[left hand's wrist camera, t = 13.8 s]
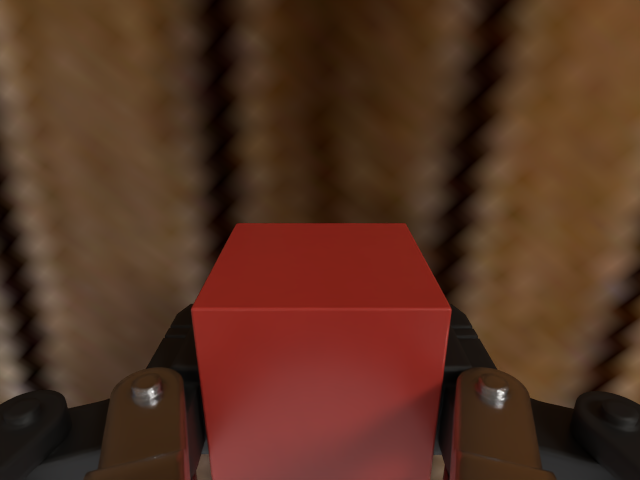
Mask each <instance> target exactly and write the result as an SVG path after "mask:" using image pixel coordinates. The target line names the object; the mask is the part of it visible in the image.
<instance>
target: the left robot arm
mask: <svg viewBox="0 0 640 480" xmlns="http://www.w3.org/2000/svg"><path fill="white" fill-rule="evenodd" d="M449 305H450V307H451V309H452V311H451V319H450V327H449V335H448V343H447V351H446V359H445V366H444V374H443V382H442V390H441V398H440V406H439V414H438V422H437V429H436V437H435V445H434V453H433V455H442V456H443V460H444V463H445V468H444V475H443V480H640V405H639V404H637V403H636V402H634V401H632V400H629V399H627V398H625V397H622V396H620V395H616V394H613V393H608V392H601V391H592V392H586V393H583V394H582V395H580V396H579V397H578V398H577V400H576V403H575V407H574V409H572V408H567V407H563V406H558V405H554V404H549V403H545V402H541V401H537V400H535V399H532V398H530V396H529V393H528V391H527V389H526V388H525V386H524V385H523V384H522V383H521V382H520V381H518V380H517V379H516V378H514V377H513V376H511V375H509V374H507V373H505V372H502V371H499V370H497V368H496V366H495V365H494V363H493V361H492V360H491V358H490V356H489V354H488V353H487V351H486V349H485V348H484V346H483V344H482V342H481V341H480V339H478V336H477V334H476V332H475V330H474V329H472V325H471V324H470V322H469V320H468V318H467V317H466V315H465V314H464V313H463V312H461V311H460V310H459V309H457V308H456V307H455V306H453V305H452V304H449ZM192 306H193V304H190V305H189V306H188V307H186V308H185V309H184V310H182V311H181V312H180V313H178V314H177V316H176V317H175V319H174V321H173V323H172V324H171V328H169V330H168V331H167V333H166V335H165V338H163V340H162V342H161V343H160V345H159V347H158V349H157V350H156V352H155V354H154V356H153V357H152V359H151V361H150V363H149V364H148V366H147V368H146V369H144V370H141V371H138V372H135V373H133V374H131V375H129V376H127V377H126V378H124V379H123V380H122V381H120V382H119V383H118V384H117V385H116V386H115V388H114V389H113V391H112V393H111V396H110V399H107V400H104V401H100V402H96V403H91V404H87V405H82V406H78V407H73V408H69V409H68V407H67V403H66V400H65V397H64V396H63V395H62V394H60V393H59V392H56V391H52V390H38V391H32V392H28V393H25V394H21V395H19V396H16V397H14V398H12V399H9V400H7V401H6V402H4V403H2V404H1V405H0V480H197V475H196V469H197V466H198V463H199V459H200V456H201V454H209V451H208V443H207V435H206V427H205V419H204V411H203V403H202V395H201V387H200V379H199V371H198V363H197V355H196V347H195V339H194V331H193V323H192V315H191V308H192Z"/></svg>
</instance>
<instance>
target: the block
mask: <svg viewBox="0 0 640 480" xmlns="http://www.w3.org/2000/svg"><path fill="white" fill-rule="evenodd" d="M451 311H452V309H451V307H450V305H449V303H448V301H447V300H446V298H445V296H444V294H443V292H442V290H441V288H440V287H439V285H438V283H437V281H436V279H435V277H434V275H433V274H432V272H431V270H430V268H429V266H428V264H427V263H426V261H425V259H424V257H423V255H422V253H421V251H420V250H419V248H418V246H417V244H416V242H415V240H414V238H413V237H412V235H411V233H410V231H409V229H408V227H407V225H406V224H404V223H238V224H236V225H235V227H234V229H233V231H232V233H231V235H230V237H229V239H228V240H227V242H226V244H225V246H224V248H223V250H222V252H221V254H220V255H219V257H218V259H217V261H216V263H215V265H214V267H213V269H212V270H211V272H210V274H209V276H208V278H207V280H206V282H205V283H204V285H203V287H202V289H201V291H200V293H199V295H198V297H197V298H196V300H195V302H194V304H193V306H192V308H191V315H192V323H193V331H194V339H195V347H196V355H197V363H198V371H199V379H200V387H201V395H202V403H203V411H204V419H205V427H206V435H207V443H208V451H209V459H210V467H211V475H212V480H430V477H431V469H432V461H433V453H434V445H435V437H436V429H437V422H438V414H439V406H440V398H441V390H442V382H443V374H444V366H445V359H446V351H447V343H448V335H449V327H450V319H451Z"/></svg>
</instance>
